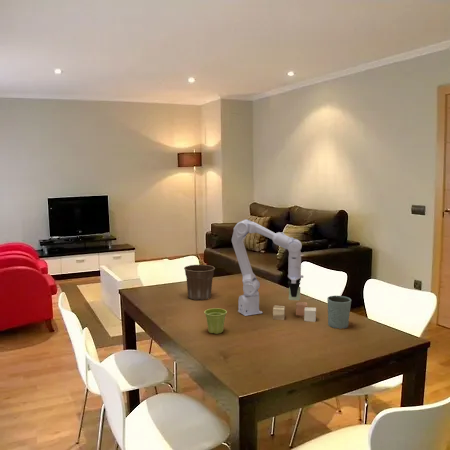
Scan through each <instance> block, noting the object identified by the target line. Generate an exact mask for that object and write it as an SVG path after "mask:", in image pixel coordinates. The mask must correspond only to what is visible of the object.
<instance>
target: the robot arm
mask: <svg viewBox="0 0 450 450" xmlns="http://www.w3.org/2000/svg"><path fill="white" fill-rule="evenodd" d="M249 234H259V235H261V236H263V237H265V238H269V239H270V240H272V242H273V244H274V245H276V246H277V247H278V246H279V247H281V248H283V249H285V250H287V251H288V258H287V259H288V261H287V262H288V269H287V272H288V274H287V278H288V281H287V284H288V288H289V287H290V291H291V296H292V297H296V296H297V291H298V287H300V285H301V281H302V279H303V278H304V275H303V274H302V252H301V250H302V247H303V245H302V242H301V240H299V239H298V238H294V237H293V236H292V237H291V236H288V235H287V234H285V232H283V231H282V232H280V231H278V232H276V233H275V232H274V231H272V230H270V229H268V228H267V227H264V225H260V224H259V223H257V222H256V221H252V220H249V219H246V218H245V219H242V220H241V221H238V222H237V223H236V224H235V226H234V227H233V232H232V237H231V243H232V247H233V250H234V252H235V256H236V260H237V261H238V262H237V263H238V266H239V269H240V272H241V275H242V285H243V286H242V291H243V294H242V295H239V296H238V302H237V303H238V310H237V312H238V313H240V314H241V315H243V316H244V317H245V316H246V317H247V316H253V315H259V314H261V315H262V314H263V311H262V310H260V292H259V289H260V286H261V284H260V280H258V279H257V277H256V274H255V273H254V272H253V268H252V266H251V265H252V264H251V262H250V259H249V256H248V252H247V249H246V247H245V243H244V240H245V238H246V237H247V235H249Z"/></svg>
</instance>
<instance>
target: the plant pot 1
mask: <svg viewBox="0 0 450 450" xmlns="http://www.w3.org/2000/svg"><path fill="white" fill-rule="evenodd" d="M215 269H216V267H214V266H213V265H208V264H190V265H187V266H185V267H184V273H185V277H186V288H187V297H188V298H189V300H192V299H194V301H199V300H201V301H204V299H206V300H209V299H210V298H211V297H212V286H213V277H214V273H215ZM208 298H209V299H208Z"/></svg>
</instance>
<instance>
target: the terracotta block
mask: <svg viewBox="0 0 450 450" xmlns="http://www.w3.org/2000/svg"><path fill="white" fill-rule="evenodd" d="M295 305H296V306H295V316H300V317H301V316H302V317H304V310H305V307H308V302H307V301H306V302H305V301H303V302H302V301H297V302H296V304H295Z"/></svg>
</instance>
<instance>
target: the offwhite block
mask: <svg viewBox="0 0 450 450" xmlns="http://www.w3.org/2000/svg"><path fill="white" fill-rule="evenodd" d="M316 314H317V307H309V306H307V307H305V310H304V316H303V318H304V320H303V321H304V322H311V323H315V322H317V321H316V320H317V318H316V317H317V315H316Z"/></svg>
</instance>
